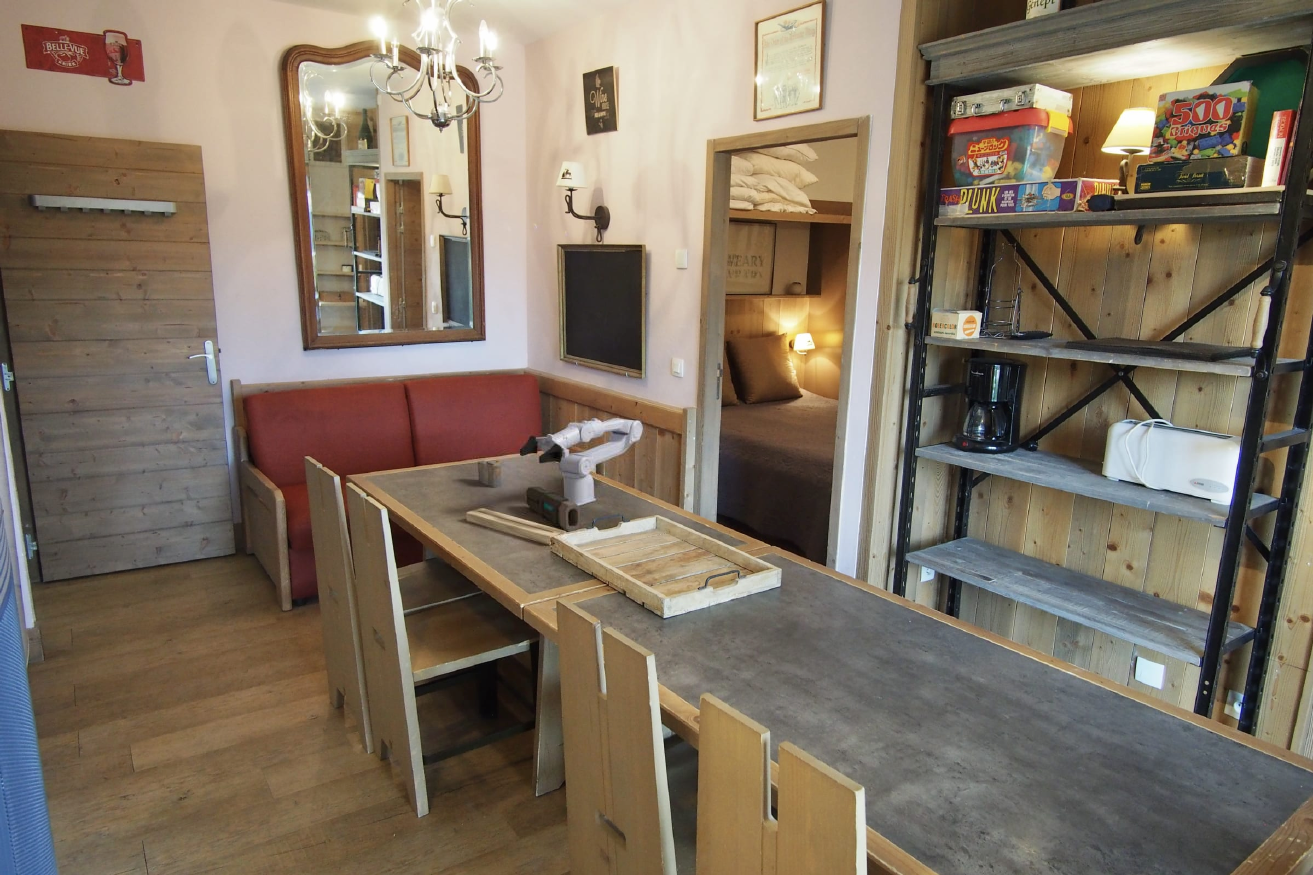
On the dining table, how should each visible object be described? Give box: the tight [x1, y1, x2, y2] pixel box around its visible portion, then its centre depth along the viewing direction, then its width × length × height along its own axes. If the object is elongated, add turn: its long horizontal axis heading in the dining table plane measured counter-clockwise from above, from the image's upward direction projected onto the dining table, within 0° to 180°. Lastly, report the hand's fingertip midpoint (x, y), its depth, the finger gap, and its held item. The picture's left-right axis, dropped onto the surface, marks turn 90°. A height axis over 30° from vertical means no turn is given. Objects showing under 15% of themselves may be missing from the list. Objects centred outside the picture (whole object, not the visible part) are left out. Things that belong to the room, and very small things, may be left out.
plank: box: [465, 507, 567, 546], centre depth 233 cm, size 6×36×3 cm, turn 51°
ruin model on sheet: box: [477, 459, 502, 489], centre depth 283 cm, size 11×3×10 cm, turn 40°
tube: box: [524, 486, 582, 533], centre depth 243 cm, size 11×7×30 cm
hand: (530, 456), depth 241 cm, fingers open, 7 cm apart
